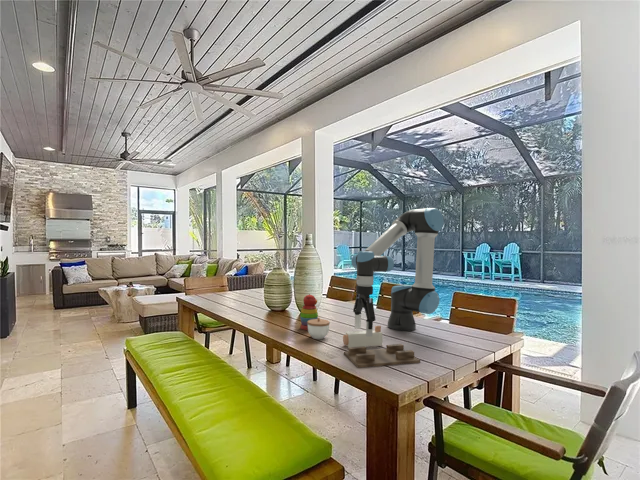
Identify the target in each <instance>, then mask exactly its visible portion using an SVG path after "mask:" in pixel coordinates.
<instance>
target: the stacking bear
mask: <svg viewBox="0 0 640 480" xmlns="http://www.w3.org/2000/svg"><path fill="white" fill-rule="evenodd" d="M317 303H318V299H316V297H315V296H314V295H312V294H310V293H309V294H307V295H305V296H304V297H303V304H304V305H303V306H302V307H301V310H300V316H299V317H300V318H299V319H300V323H301V324H300V327H299V328H300V329H301V330H304V331H308V324H307V322H308V321H309V320H312V319H318V318H319V314H318V309H317V306H316V304H317Z"/></svg>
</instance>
